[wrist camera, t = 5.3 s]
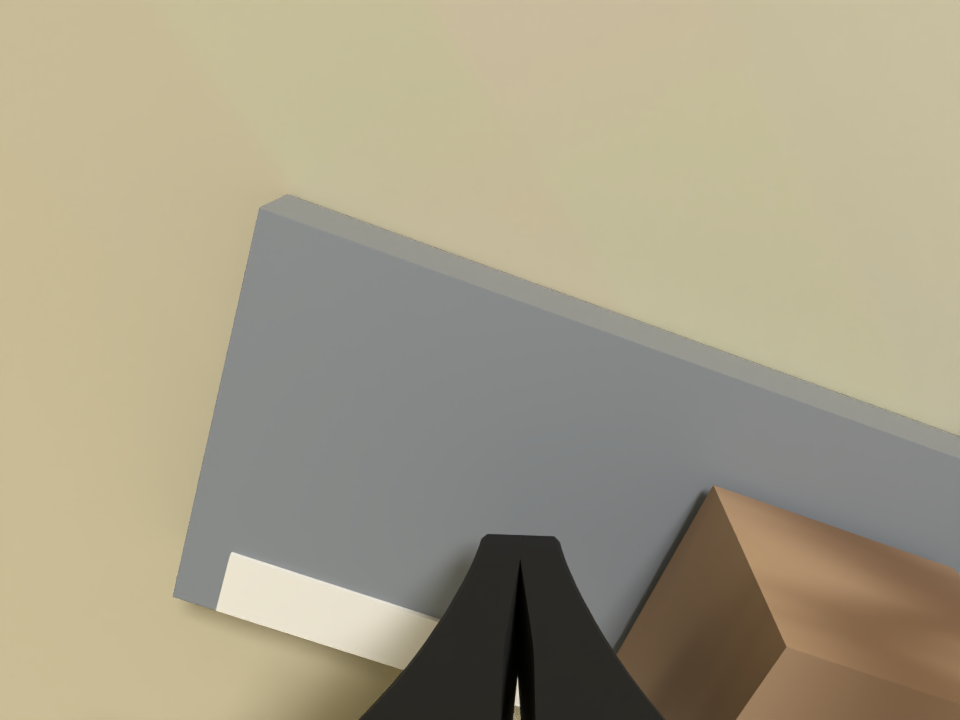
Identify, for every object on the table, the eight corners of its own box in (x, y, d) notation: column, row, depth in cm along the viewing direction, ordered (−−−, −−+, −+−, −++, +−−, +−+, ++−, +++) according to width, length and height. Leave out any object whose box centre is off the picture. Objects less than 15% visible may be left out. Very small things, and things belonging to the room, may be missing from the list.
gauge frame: (1201, 523, 15) (1674, 836, 9) (951, 795, 18) (1164, 1155, 12) (287, 194, 13) (87, 289, 7) (202, 553, 17) (17, 821, 11)
